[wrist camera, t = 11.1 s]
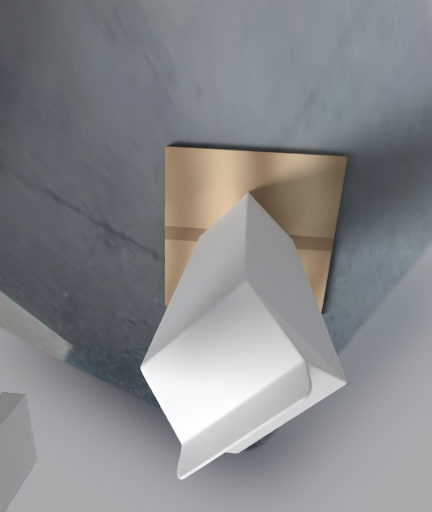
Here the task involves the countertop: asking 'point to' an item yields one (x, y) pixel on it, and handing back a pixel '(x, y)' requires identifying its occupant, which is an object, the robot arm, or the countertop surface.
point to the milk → (239, 340)
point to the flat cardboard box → (263, 191)
